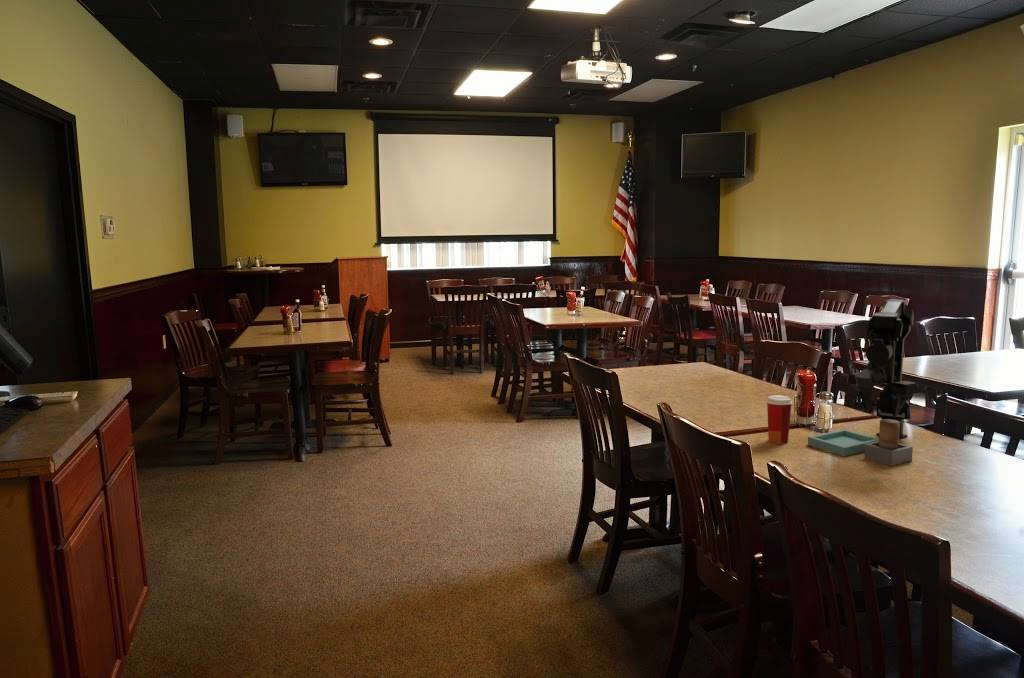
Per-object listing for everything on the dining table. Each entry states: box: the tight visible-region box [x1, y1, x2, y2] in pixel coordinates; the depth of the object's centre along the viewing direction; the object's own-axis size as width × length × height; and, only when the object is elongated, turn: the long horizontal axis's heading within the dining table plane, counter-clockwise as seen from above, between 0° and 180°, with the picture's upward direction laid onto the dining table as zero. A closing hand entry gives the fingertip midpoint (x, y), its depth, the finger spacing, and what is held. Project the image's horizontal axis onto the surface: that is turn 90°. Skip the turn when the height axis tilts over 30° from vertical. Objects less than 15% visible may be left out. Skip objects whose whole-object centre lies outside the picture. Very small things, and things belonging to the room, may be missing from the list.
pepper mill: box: [878, 419, 900, 450], centre depth 202 cm, size 5×5×11 cm
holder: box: [863, 441, 914, 467], centre depth 203 cm, size 9×9×4 cm
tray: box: [807, 429, 879, 457], centre depth 216 cm, size 16×13×2 cm
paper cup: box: [765, 394, 794, 445], centre depth 221 cm, size 8×8×14 cm
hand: (880, 413), depth 203 cm, fingers open, 9 cm apart
